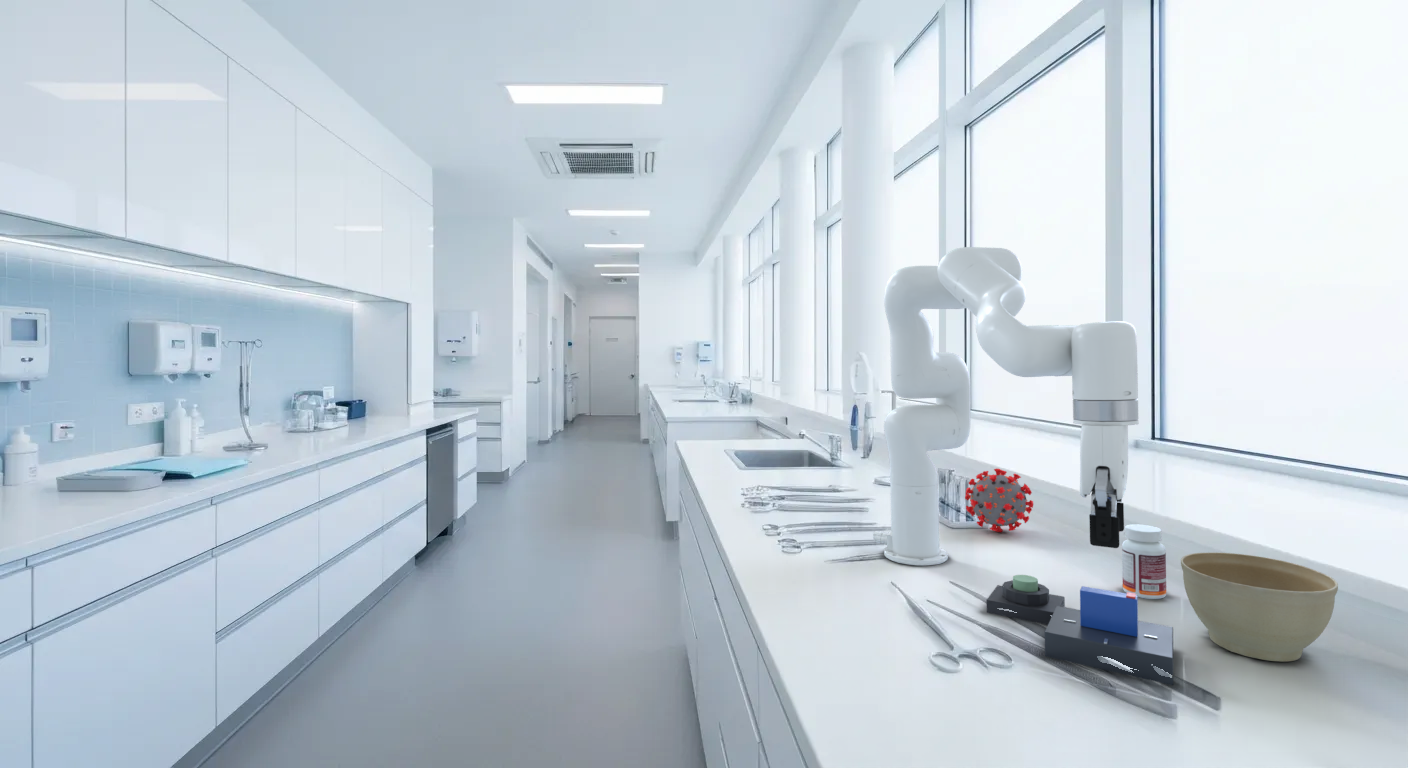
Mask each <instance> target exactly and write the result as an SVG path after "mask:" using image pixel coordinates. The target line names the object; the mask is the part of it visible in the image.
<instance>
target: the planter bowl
mask: <svg viewBox="0 0 1408 768" xmlns="http://www.w3.org/2000/svg"><path fill="white" fill-rule="evenodd" d="M1180 567H1181V571H1182V579H1183V586H1184V589H1185V593H1186V596H1187V599H1188V601H1189V603H1190V605H1191V607H1192V609H1193V611H1194V612H1195V614H1196V616H1197V618H1198V619H1199V620H1200V622H1201V623H1202V624H1203V625H1204V627H1205V628H1206V629H1207V633H1208V636H1209V639H1210V640H1211V641H1212V642H1213V643H1214V644H1216V645H1217V646H1218V647H1220V648H1223V649H1225V650H1227V651H1230V652H1232V653H1235V654H1238V655H1241V656H1245V657H1249V658H1253V659H1258V660H1262V661H1270V662H1294V661H1298V660H1299V659H1301V657H1302V655H1303V652H1304V649H1307V647H1309V646H1310V645H1312V644H1313V643H1314V642H1315V641H1316V640H1317V639H1318V638H1319V637H1320V636H1321V635H1322V634H1323V633H1324V631H1325V629H1326V628H1327V626H1328V625H1329V623H1330V621H1331V618H1332V615H1333V612H1334V608H1335V601H1336V595H1337V593H1338V591H1339V584H1338V582H1337V580H1336V579H1334V578H1333V577H1332V576H1330V575H1327V574H1326V573H1323V572H1322V571H1319V570H1316V569H1313V568H1310V567H1307V566H1304V565H1301V564H1297V563H1294V562H1290V561H1286V560H1282V559H1281V560H1280V559H1276V558H1271V557H1264V556H1258V555H1253V554H1243V553H1236V552H1235V553H1234V552H1219V551H1218V552H1217V551H1216V552H1215V551H1213V552H1209V551H1208V552H1194V553H1189V554H1185V555H1183V556H1182V557H1180Z"/></svg>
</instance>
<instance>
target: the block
mask: <svg viewBox="0 0 1408 768" xmlns="http://www.w3.org/2000/svg"><path fill="white" fill-rule="evenodd" d="M1065 598H1066V597H1065V596H1063V595H1058V594H1052V593H1050V589H1049V588H1048V587H1047V586H1046V585H1044V584H1042V583H1038V591H1036V592H1025V591H1019V590H1017V589H1014V588H1013V579H1012V580H1007V581H1004V582H1003V583H1002V585H1000V584H997V585H996V586H995V588H994V589H993V591H991V593H990V595H988V597H987V599H986V600H985V601H986V614H991V615H997V616H1000V617H1001V616H1002V617H1006V618H1007V617H1008V618H1012V619H1018V620H1022V621H1026V622H1027V621H1028V622H1032V623H1037V624H1042V625H1047V626H1048V624H1049V622H1050V619H1051V616H1050V615H1053V613H1054V611H1055V609H1056V606H1061V607H1066V605H1065V601H1066V599H1065ZM997 608H1003V609H1009V610H1012V611H1014V612H1017V613H1014V612H1009V611H1004V610H999V609H997Z"/></svg>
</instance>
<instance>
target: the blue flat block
mask: <svg viewBox="0 0 1408 768" xmlns="http://www.w3.org/2000/svg"><path fill="white" fill-rule="evenodd" d="M1079 607H1080V608H1079V610H1080V625H1081V626H1084V627H1089V628H1094V629H1099V630H1104V631H1109V632H1115V633H1120V634H1125V635H1130V636H1135V637H1137V636H1138V621H1139V597H1138V595H1136V593H1130V592H1127V593H1126V592H1120V591H1113V590H1108V589H1101V588H1095V587H1089V586H1083V585H1082V586H1081V587H1080V589H1079Z"/></svg>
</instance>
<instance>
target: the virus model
mask: <svg viewBox="0 0 1408 768" xmlns="http://www.w3.org/2000/svg"><path fill="white" fill-rule="evenodd" d="M993 471H994V472H995V474H989V470H983V471H982V472H980V473H978V474H977V475H976V476H975V478H976V479H975V478H971V479H969V481H968V485H969V487H967V488H966V489H965V496H964V500H966V501H967V502H968V501H969V502H970V506H968V505H966V506H965V510H966V511H967V512H968V513H969V514H970V515H971V517H974V516H975V515H976V516H977V517H976V518H977V519H978V520H977V521H976V524H977V526H978V527H980V528H984V523H985V524H986V525H988V524H989V525H991V527H989V530H990V531H993V532H997V533H1003V531H1004V529H1003V528H1002V527H1007V526H1008V531H1009V532H1012V531H1015V530H1016V529H1017V528H1020V526H1021V525H1022V522H1019V520H1021V521H1023V522H1024V524H1026V523H1027V522H1029V520H1030V516H1028V515H1026V514H1025V512H1027V513H1028V514H1031V512H1032V511H1033V508H1034V500H1032V499H1030V500H1029V501H1028V499H1027V494H1028V495H1029V496H1031V494H1033V492H1032V490H1031V488H1030V487H1029V485H1028V484H1026V483H1023V485H1022V486H1021V484H1019V482H1018V481H1019V480H1018V479H1021V478H1022V476H1021V475H1019V474H1018V473H1013V474H1012V475H1008V476H1007V473H1008V472H1007V471H1006V470H1003V469H1000V468H993ZM976 480H977V482H976ZM970 486H973V487H970Z"/></svg>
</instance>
